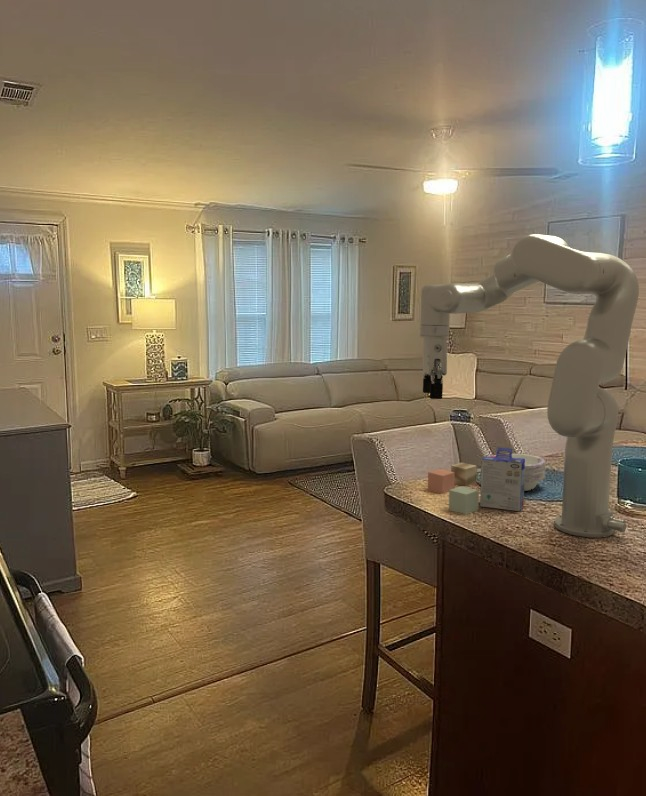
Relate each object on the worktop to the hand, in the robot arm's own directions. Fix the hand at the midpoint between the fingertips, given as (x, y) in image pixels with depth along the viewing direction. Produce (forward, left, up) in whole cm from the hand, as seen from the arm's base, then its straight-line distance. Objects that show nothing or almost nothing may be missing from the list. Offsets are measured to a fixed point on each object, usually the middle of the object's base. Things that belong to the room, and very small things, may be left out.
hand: (432, 395), depth 170 cm
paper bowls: (-16, -17, -26) cm, 34 cm away
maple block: (-4, -10, -26) cm, 28 cm away
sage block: (-18, +9, -26) cm, 32 cm away
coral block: (-4, 0, -26) cm, 26 cm away
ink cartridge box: (-23, 0, -26) cm, 34 cm away
